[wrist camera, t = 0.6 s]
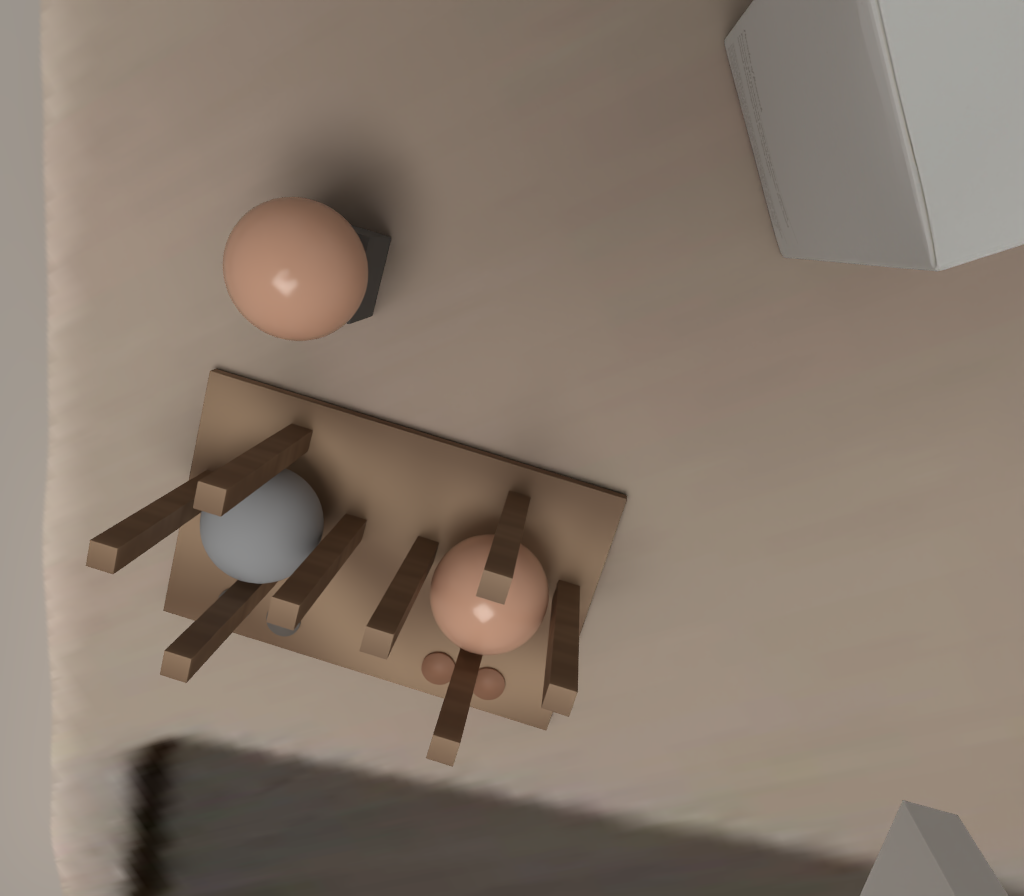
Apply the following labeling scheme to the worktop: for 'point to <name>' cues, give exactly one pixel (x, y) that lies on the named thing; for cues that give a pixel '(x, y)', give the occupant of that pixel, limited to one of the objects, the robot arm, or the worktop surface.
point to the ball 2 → (481, 619)
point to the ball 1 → (266, 531)
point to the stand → (371, 269)
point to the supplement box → (886, 126)
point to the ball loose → (295, 268)
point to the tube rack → (377, 552)
